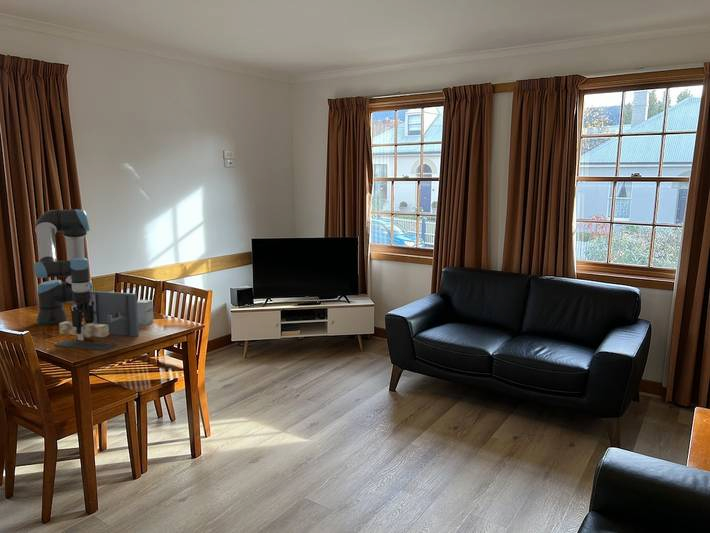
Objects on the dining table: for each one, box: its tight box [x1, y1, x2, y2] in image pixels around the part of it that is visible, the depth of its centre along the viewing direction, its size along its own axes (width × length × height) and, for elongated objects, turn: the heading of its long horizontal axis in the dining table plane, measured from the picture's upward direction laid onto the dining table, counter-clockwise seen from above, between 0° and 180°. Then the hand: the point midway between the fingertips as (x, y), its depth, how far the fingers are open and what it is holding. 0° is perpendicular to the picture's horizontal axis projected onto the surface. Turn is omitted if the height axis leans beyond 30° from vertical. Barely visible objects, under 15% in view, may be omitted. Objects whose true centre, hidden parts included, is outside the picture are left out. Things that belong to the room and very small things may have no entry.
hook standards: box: [82, 294, 131, 338], centre depth 263 cm, size 20×14×21 cm
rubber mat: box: [53, 339, 117, 352], centre depth 251 cm, size 28×8×1 cm, turn 77°
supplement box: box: [137, 299, 155, 326], centre depth 292 cm, size 7×7×13 cm
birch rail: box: [58, 320, 110, 338], centre depth 250 cm, size 24×4×5 cm, turn 77°
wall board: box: [89, 290, 140, 337], centre depth 270 cm, size 28×2×22 cm, turn 77°
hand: (84, 338), depth 251 cm, fingers closed on birch rail, 4 cm apart
